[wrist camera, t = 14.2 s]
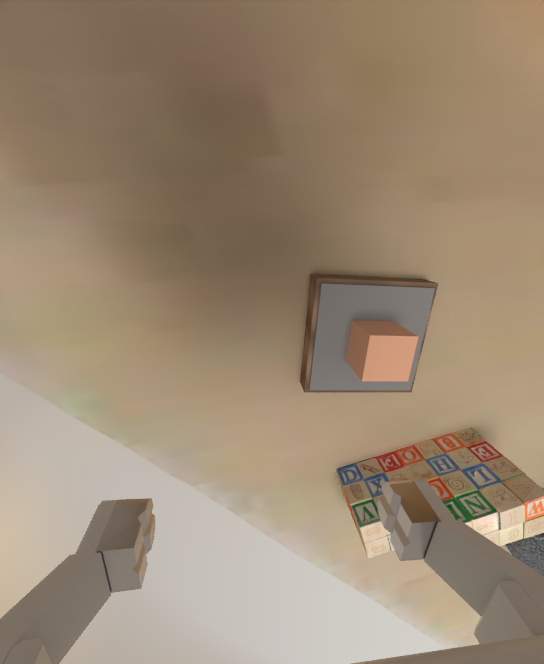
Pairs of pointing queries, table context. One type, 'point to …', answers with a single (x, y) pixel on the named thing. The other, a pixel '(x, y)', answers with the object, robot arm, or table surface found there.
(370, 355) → the terracotta cube
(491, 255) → the table surface
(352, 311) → the walnut framed mirror
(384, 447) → the table surface
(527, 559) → the koala plush
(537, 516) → the stack of blocks
